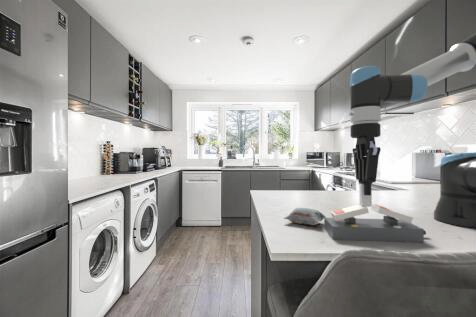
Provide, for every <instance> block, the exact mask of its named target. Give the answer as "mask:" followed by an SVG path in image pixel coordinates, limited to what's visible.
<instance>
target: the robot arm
mask: <svg viewBox="0 0 476 317" xmlns="http://www.w3.org/2000/svg"><path fill="white" fill-rule="evenodd" d="M474 68H476V32H475V33H473V34H472V35H470V36H469V37H467V38H465V39H464V40H462V41H460V42H458V43H456V44H454V45H452V46H451V47H450V49H449V50H448V51H447V52H444V53H442V54H440V55H438V56H436V57H434V58H432V59H430V60H428V61H426V62H423V63H421V64H420V65H417V66H416V67H413V68H411V69H410V70H407V71H405V72H403V73H401V74H390V75H389V74H388V75H386V74H382V72H381V69H380V67H379V66H375V65H367V66H361V67H359V68H356V69H355V70H353V71H352V72H351V74H350V79H349V80H350V83H349V90H350V93H349V95H350V112H349V113H348V116H349V117H350V123H351V126H350V137H351V138H352V139H356V142H355V148H352V154H353V158H354V159H353V160H354V162H353V163H354V171H355V179H356V180H357V181H358V183H359V184H358V186H359V204H360V206H366V207H367V208H369V207H370V208H371V207H372V204H373V203H372V202H373V201H372V200H373V198H372V196H373V195H372V194H373V191H372V188H373V186H372V185H373V183H376V181H377V174H378V166H379V158H380V153H381V150H382V149H381V147H378V146H376V140H375V138H379V137H380V136H381V123H379V122H381V117H382V116H381V115H382V114H381V109H384V108H388V107H391V106H395V105H397V104H401V103H407V104H409V103H416V102H417V103H418V102H419V101H421V100H422V99H423V98H424V97H425V96H426V94H427V92H428V89H429V88H428V87H430V86H431V85H434V84H436V83H438V82H440V81H442V80H444V79H446V78H448V77H450V76H453V75H454V74H457V73H459V72H462V73H464V72H468V71H470V70H472V69H474ZM439 168H440V170H439V172H440V174H439V175H440V177H439V178H440V179H439V180H440V181H439V182H440V183H439V184H440V185H439V186H440V190H439V191H440V196H439V200H438V201H437V204H436V206H435V209H434V211H433V219H434V220H436V221H439V222H441V223H445V224H450V225H452V226H453V225H454V226H460V227H466V228H473V229H474V228H475V229H476V152H464V153H463V152H461V153H460V152H459V153H452V154H446V155H443V156H442V157H441V159H440V165H439Z"/></svg>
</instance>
